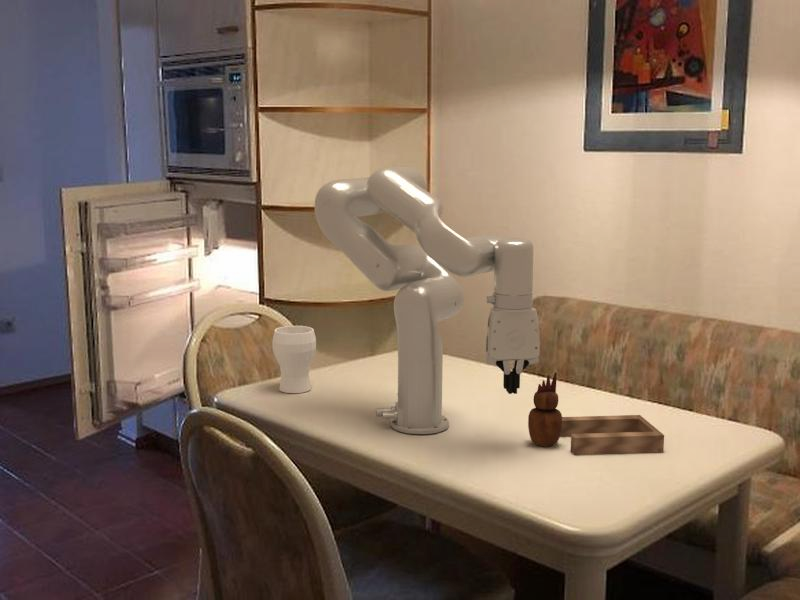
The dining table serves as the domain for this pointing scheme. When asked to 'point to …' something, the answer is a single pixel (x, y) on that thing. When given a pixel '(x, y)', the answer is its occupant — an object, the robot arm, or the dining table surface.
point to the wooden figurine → (545, 415)
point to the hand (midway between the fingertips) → (511, 391)
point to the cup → (294, 356)
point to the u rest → (611, 435)
